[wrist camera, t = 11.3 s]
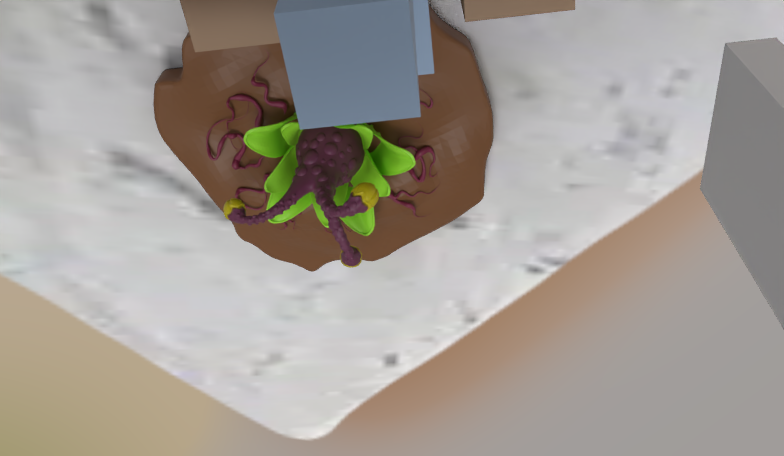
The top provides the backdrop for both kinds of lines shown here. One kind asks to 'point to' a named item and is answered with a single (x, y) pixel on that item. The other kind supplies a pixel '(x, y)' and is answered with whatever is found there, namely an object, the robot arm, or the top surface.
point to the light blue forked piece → (354, 58)
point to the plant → (327, 153)
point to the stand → (258, 27)
